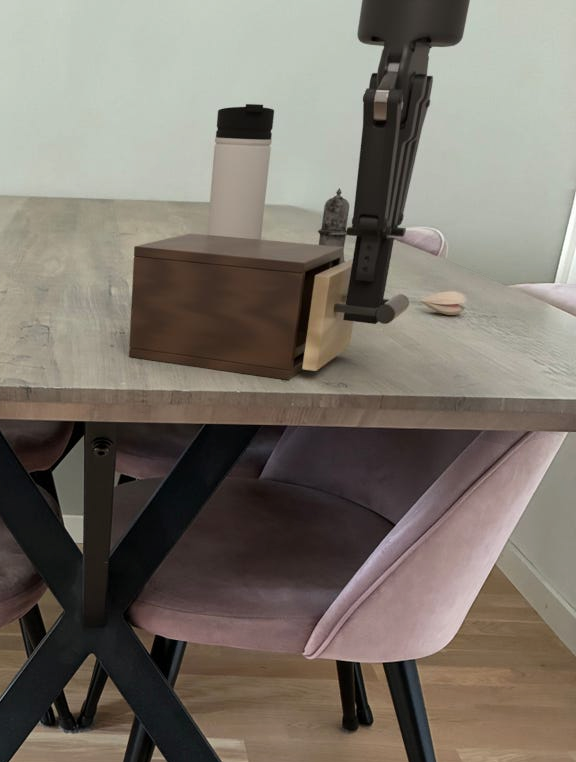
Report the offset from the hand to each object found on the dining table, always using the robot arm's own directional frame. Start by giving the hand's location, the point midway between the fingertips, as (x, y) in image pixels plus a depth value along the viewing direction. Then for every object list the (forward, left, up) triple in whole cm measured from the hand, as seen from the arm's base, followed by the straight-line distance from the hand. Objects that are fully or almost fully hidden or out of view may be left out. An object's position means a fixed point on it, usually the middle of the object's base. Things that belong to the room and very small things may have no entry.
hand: (361, 320), depth 80 cm
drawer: (+6, 0, -3) cm, 7 cm away
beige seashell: (-2, -34, -4) cm, 34 cm away
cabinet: (+11, 0, -4) cm, 12 cm away
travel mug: (+22, -30, -4) cm, 38 cm away
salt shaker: (+12, -36, -4) cm, 38 cm away
